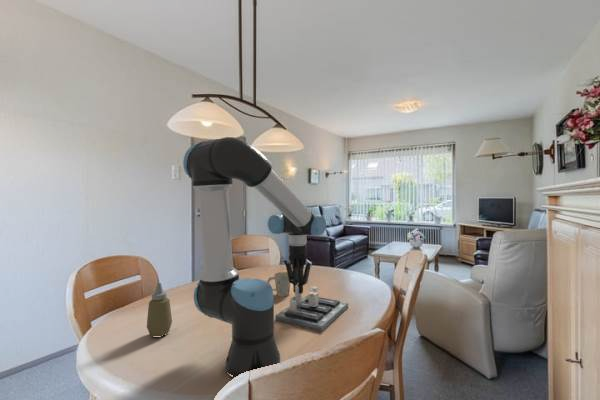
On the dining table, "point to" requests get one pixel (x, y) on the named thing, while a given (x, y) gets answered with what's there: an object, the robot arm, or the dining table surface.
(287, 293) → the mug
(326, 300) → the panel
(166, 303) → the squeeze bottle
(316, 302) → the block
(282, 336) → the dining table surface
